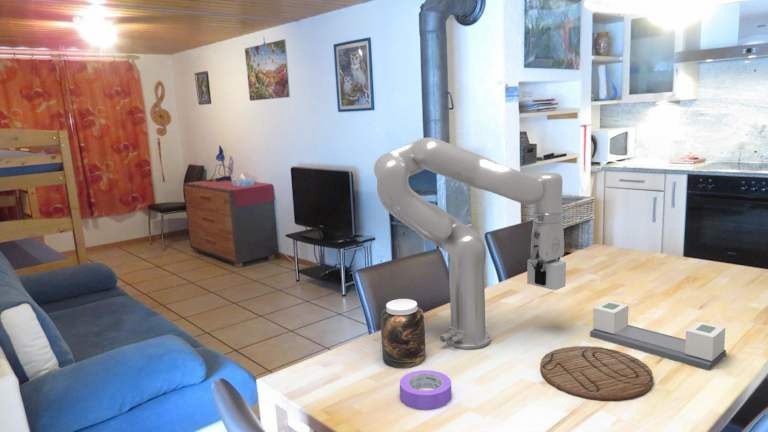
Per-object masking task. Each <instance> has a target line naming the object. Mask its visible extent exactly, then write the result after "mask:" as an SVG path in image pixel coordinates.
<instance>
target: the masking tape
mask: <svg viewBox="0 0 768 432" xmlns="http://www.w3.org/2000/svg"><path fill="white" fill-rule="evenodd" d="M423 389H424V390H423ZM425 389H426V390H425ZM399 397H400V400H401V403H402V404H404V405H405V406H406V407H409V408H411V409H414V410H420V411H428V410H431V411H432V410H436V409H441V408H442V407H445V406H446V405H448V404H449V403H450V402H451V400H452V381H451V378H450V377H449V376H448V375H447V374H444V373H442V372H440V371H435V370H429V369H427V370H426V369H421V370H415V371H411V372H408V373H406V374H405V375H403V376H402V377H401V378H400V380H399Z"/></svg>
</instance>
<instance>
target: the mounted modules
mask: <svg viewBox="0 0 768 432" xmlns="http://www.w3.org/2000/svg"><path fill="white" fill-rule="evenodd" d="M592 309H593V310H592V312H593V313H592V316H593V317H592V329H597V330H601V331H605V332H608V333H612V334H615V333H616V332H618V331H620V330H621V329H623V328H625V327H626V326H628V325H629V304H625V303H621V302H617V301H612V300H606V301H603V302H601V303H600V304H598V305H596V306H594V307H593V308H592ZM685 340H686V343H685V354H688V355H692V356H695V357H699V358H703V359H706V360H710V361H713V360H714V359H715V358H716V357H717V356H718V355H719V354H721V353H722V352H723V351H724V350H725V343H726V341H725V340H726V326H721V325H716V324H712V323H708V322H703V321H697V322H696V323H695V324H693V325H692V326H691V327H689V328H688V329H686V330H685Z"/></svg>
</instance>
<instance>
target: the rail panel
mask: <svg viewBox="0 0 768 432" xmlns="http://www.w3.org/2000/svg"><path fill="white" fill-rule="evenodd" d="M589 332H590V333H589V337H591V338H595V339H598V340H602V341H604V342H605V341H606V342H608V343H613V344H615V345H619V346H623V347H626V348H629V349H633V350H636V351H640V352H643V353H647V354H650V355H653V356H656V357H660V358H664V359H668V360H671V361H674V362H677V363H682V364H684V365H688V366H691V367H695V368H698V369H703V370H706V371H711V370H712V369H713V368H714V366H716V365H717V364H718V363H719V362H721V360H722V359H724V358H725V357H726V355H727V350H726V349H724V351H723V352H722V353H721V354H719V355H718V356H717V357H716V358H715V359H714V360H713V361H710V360H706V359H703V358H699V357H695V356H692V355H688V354H685V343H686V338H681V337H676V336H675V335H674V336H672V335H669V334H666V333H662V332H658V331H653V330H650V329H645V328H642V327H638V326H634V325H629V324H628V326H626V327H625V328H623V329H621V330H620V331H618V332H616V333H615V334H612V333H608V332H605V331H601V330H597V329H594V328H592V330H590V331H589Z"/></svg>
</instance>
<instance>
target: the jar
mask: <svg viewBox="0 0 768 432" xmlns="http://www.w3.org/2000/svg"><path fill="white" fill-rule="evenodd" d="M385 304H386V305H385V309H383V310H382V311H381V313H380V335H381V336H380V337H381V339H380V340H381V356H382V361H383V363H384V364H385V365H386V366H388V367H391V368H396V369H397V368H398V369H409V368H413V367H417V366H419V365H421V364H423V363H424V362H425V361H426V357H427V351H426V349H427V348H426V328H425V313H424V311H423V309H422V308H420V307H419V306H418V302H417V301H416V300H414V299H410V298H398V299H392V300H390V301H388V302H386V303H385Z"/></svg>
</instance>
